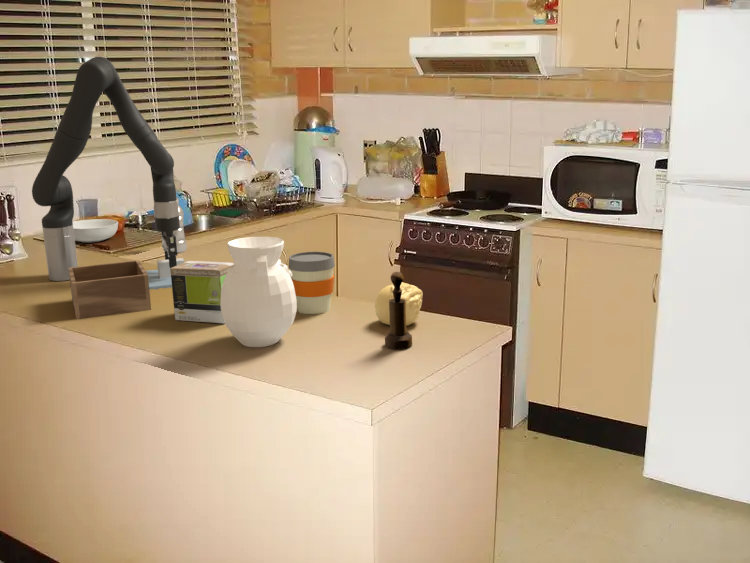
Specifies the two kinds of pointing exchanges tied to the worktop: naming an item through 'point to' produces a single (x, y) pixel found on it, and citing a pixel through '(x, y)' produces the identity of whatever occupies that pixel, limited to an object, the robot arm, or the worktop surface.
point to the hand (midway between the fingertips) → (171, 265)
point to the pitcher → (258, 292)
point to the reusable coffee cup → (312, 281)
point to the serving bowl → (94, 230)
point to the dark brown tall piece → (397, 317)
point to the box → (109, 289)
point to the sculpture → (408, 293)
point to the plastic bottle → (180, 233)
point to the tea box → (198, 290)
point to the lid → (161, 274)
